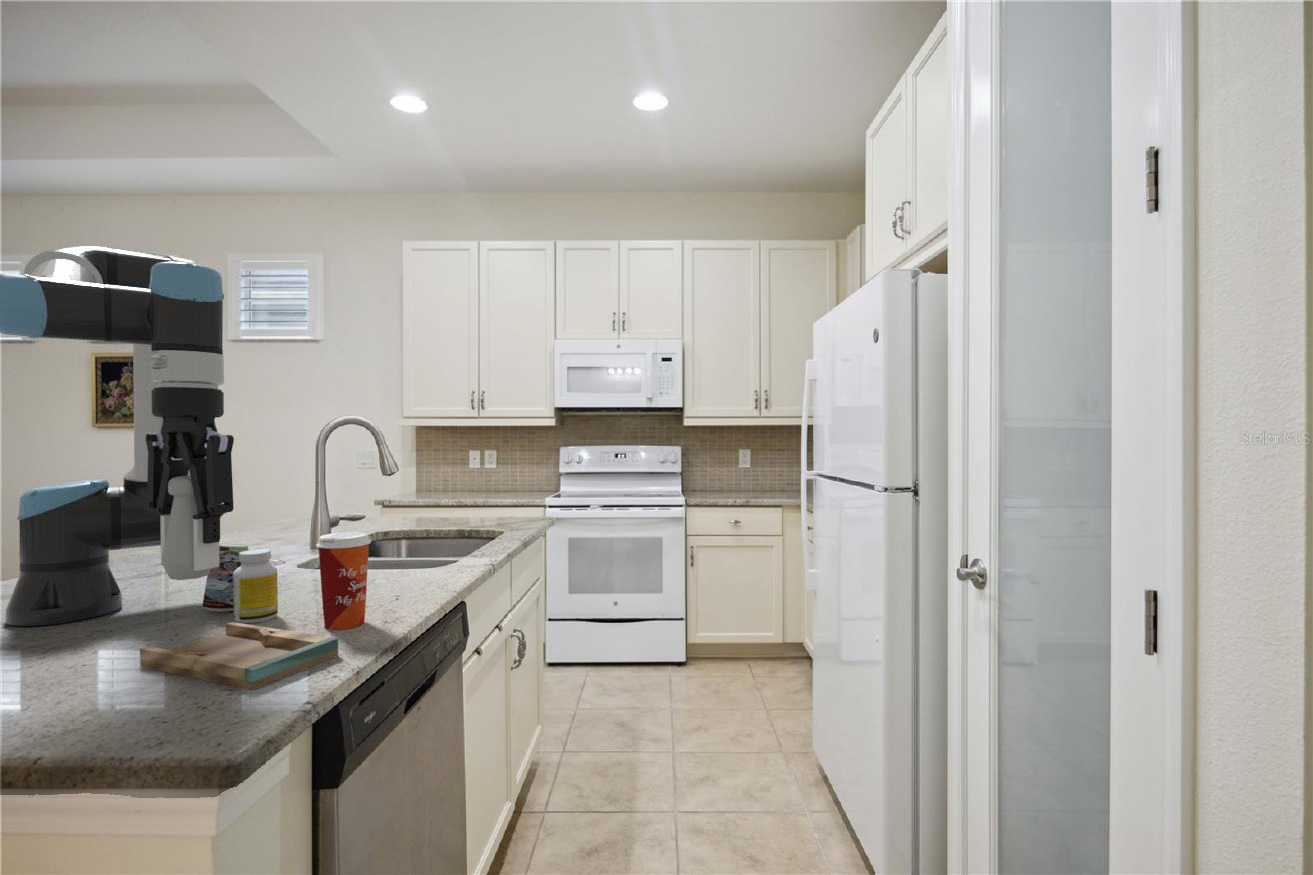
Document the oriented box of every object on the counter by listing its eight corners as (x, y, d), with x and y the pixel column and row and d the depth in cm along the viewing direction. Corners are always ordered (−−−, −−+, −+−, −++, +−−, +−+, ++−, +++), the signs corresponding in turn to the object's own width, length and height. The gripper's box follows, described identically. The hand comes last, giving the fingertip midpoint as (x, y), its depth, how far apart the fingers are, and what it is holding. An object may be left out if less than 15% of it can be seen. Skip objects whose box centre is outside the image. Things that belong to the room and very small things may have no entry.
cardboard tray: (140, 666, 89) (139, 648, 89) (232, 637, 101) (232, 622, 101) (253, 689, 81) (252, 670, 81) (338, 655, 93) (338, 638, 93)
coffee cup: (350, 634, 103) (349, 540, 102) (305, 630, 104) (304, 538, 104) (382, 618, 111) (381, 531, 111) (340, 616, 112) (339, 530, 112)
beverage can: (194, 613, 114) (193, 546, 114) (235, 603, 121) (234, 539, 121) (218, 617, 112) (217, 548, 112) (258, 606, 119) (258, 541, 118)
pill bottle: (282, 619, 111) (281, 551, 111) (238, 627, 106) (237, 557, 106) (272, 611, 115) (271, 546, 115) (229, 618, 111) (228, 551, 111)
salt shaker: (181, 571, 86) (180, 474, 86) (226, 570, 87) (225, 474, 86) (150, 582, 80) (149, 478, 80) (199, 581, 81) (197, 478, 80)
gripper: (109, 386, 83) (112, 565, 83) (207, 384, 76) (209, 579, 76) (172, 388, 90) (173, 554, 90) (266, 387, 83) (268, 566, 83)
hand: (190, 565), depth 83 cm, fingers closed on salt shaker, 6 cm apart
